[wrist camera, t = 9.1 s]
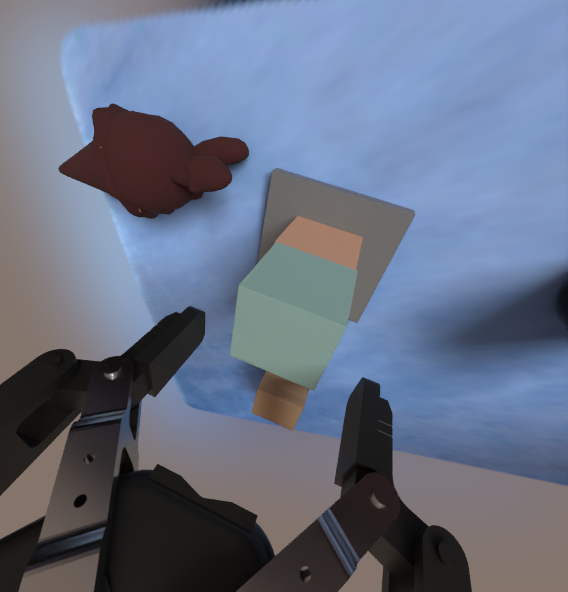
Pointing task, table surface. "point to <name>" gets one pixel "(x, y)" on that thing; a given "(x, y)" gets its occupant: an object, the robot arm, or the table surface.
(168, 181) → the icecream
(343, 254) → the base brick
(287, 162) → the table surface
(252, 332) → the teal brick
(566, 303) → the supplement bottle
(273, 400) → the walnut brick
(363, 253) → the plate
